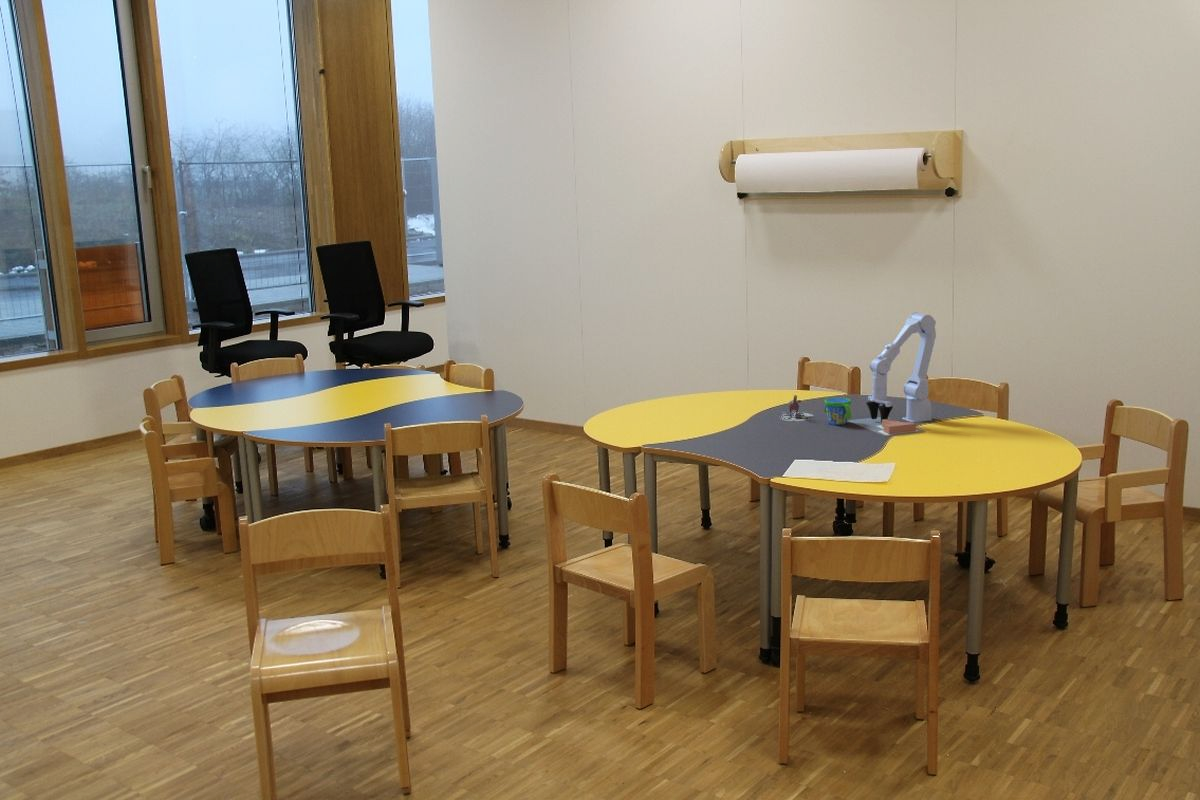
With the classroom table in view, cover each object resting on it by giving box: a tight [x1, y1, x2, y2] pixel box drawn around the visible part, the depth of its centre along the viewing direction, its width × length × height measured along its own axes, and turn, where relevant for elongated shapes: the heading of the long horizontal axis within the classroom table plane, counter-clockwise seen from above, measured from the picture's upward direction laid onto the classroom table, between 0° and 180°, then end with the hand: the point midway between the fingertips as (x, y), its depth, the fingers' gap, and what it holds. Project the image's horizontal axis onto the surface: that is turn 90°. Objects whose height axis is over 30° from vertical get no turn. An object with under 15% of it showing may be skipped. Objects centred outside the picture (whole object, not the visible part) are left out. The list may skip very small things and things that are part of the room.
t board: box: [847, 416, 926, 438], centre depth 458 cm, size 18×30×1 cm, turn 17°
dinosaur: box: [780, 394, 814, 422], centre depth 480 cm, size 18×18×11 cm
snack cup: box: [823, 396, 852, 426], centre depth 464 cm, size 16×10×10 cm
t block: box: [882, 418, 917, 434], centre depth 450 cm, size 12×12×3 cm
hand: (879, 420), depth 462 cm, fingers open, 7 cm apart
